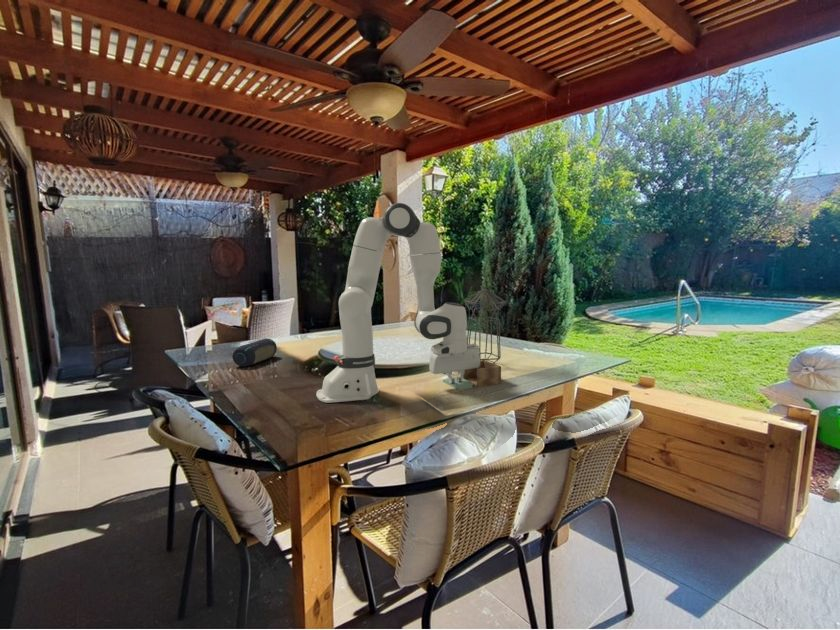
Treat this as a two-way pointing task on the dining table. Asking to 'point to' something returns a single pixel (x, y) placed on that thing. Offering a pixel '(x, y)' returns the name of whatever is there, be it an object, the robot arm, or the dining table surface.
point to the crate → (484, 374)
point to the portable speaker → (254, 352)
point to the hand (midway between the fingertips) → (455, 382)
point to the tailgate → (460, 384)
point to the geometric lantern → (489, 294)
